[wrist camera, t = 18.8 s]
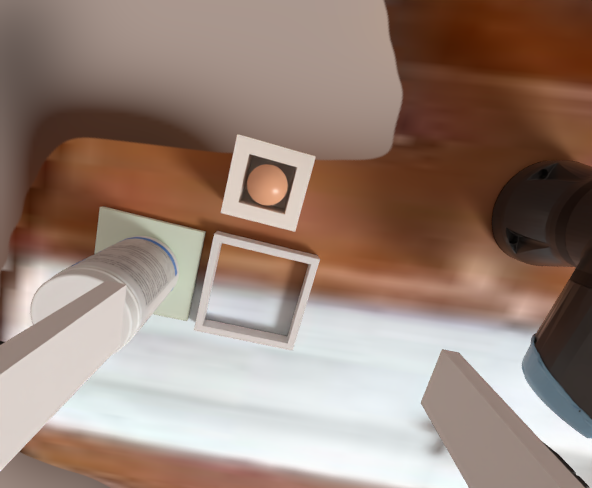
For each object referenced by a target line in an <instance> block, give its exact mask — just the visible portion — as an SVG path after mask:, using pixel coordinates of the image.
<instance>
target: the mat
mask: <svg viewBox="0 0 592 488" xmlns="http://www.w3.org/2000/svg"><path fill="white" fill-rule="evenodd" d="M205 234H206V231H202V230H198V229H194V228H190V227H186V226H181V225H177V224H173V223H169V222H165V221H161V220H157V219H153V218H149V217H145V216H141V215H136V214H132V213H128V212H124V211H120V210H116V209H112V208H108V207H104V206H103V207H100V210H99V219H98V227H97V236H96V245H95V253H94V254H96V253H98V252H100V251H102V250H104V249H106V248H108V247H110V246H112V245H114V244H116V243H118V242H120V241H122V240H124V239H126V238H129V237H133V236H148V237H152V238H155V239H157V240H159V241H161V242H163V243H164V244H165V245H167V246H168V247H169V248H170V249H171V251H172V252H173V253H174V255H175V257H176V259H177V262H178V267H179V277H178V281H177V283H176V285H175V287H174V288H173V289H172V291H171V292H170V293H169V294H168V296H167V297H166V298H165V299H164V301H163V302H162V303H161V304H160V305H159V307H158V308H157V309H156V310H155V312H154V313H153V314H155V315H159V316H164V317H169V318H174V319H179V320H184V321H187V320H188V317H189V312H190V308H191V303H192V298H193V293H194V288H195V283H196V278H197V273H198V268H199V263H200V258H201V253H202V248H203V244H204V239H205Z"/></svg>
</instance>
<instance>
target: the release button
mask: <svg viewBox="0 0 592 488" xmlns="http://www.w3.org/2000/svg"><path fill="white" fill-rule="evenodd" d="M287 187H288V183H287V179H286V176H285V174H284V173H283V172H282V170H281V169H279V168H278V167H276V166H274V165H269V164H264V165H260V166H258V167H256V168H255V169H254V170H253V171H252V172H251V173H250V175H249V177H248V180H247V189H248V192H249V194H250V196H251V197H252V199H253V200H254V201H256V202H257V203H259V204H262V205H274V204H276V203H278V202H280V201H281V200H282V199H283V198H284V196H285V194H286V192H287Z"/></svg>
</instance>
